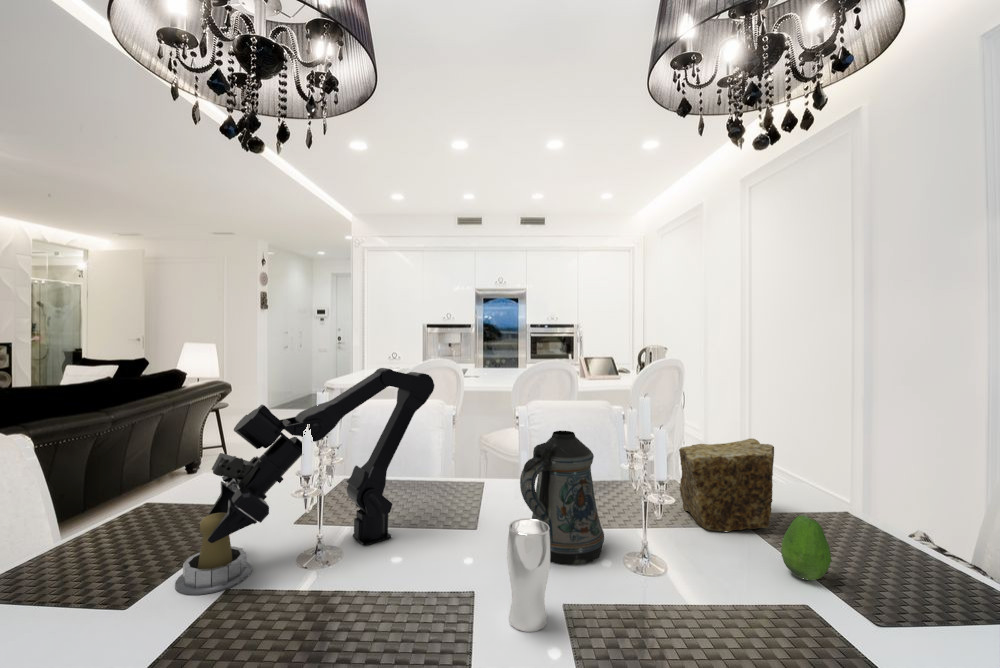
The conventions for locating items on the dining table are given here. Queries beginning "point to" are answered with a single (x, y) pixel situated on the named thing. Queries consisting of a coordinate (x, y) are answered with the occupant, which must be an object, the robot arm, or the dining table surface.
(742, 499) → the decorative stone
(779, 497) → the dining table surface
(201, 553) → the olive game pawn
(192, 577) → the duct collar
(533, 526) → the beer glass
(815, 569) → the avocado
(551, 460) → the beer stein
